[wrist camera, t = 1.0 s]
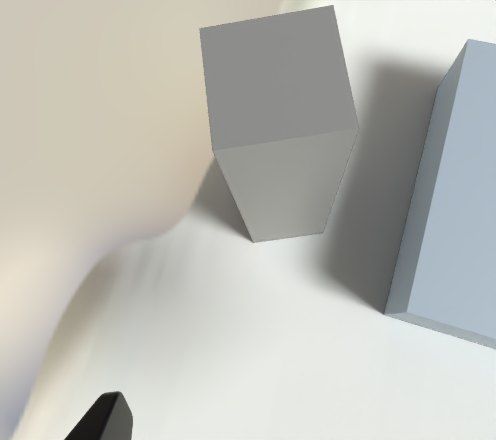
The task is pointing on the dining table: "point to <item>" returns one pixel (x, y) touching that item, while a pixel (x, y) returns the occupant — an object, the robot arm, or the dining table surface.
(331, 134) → the gray block
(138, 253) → the dining table surface
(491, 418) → the dining table surface
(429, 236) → the socket block
